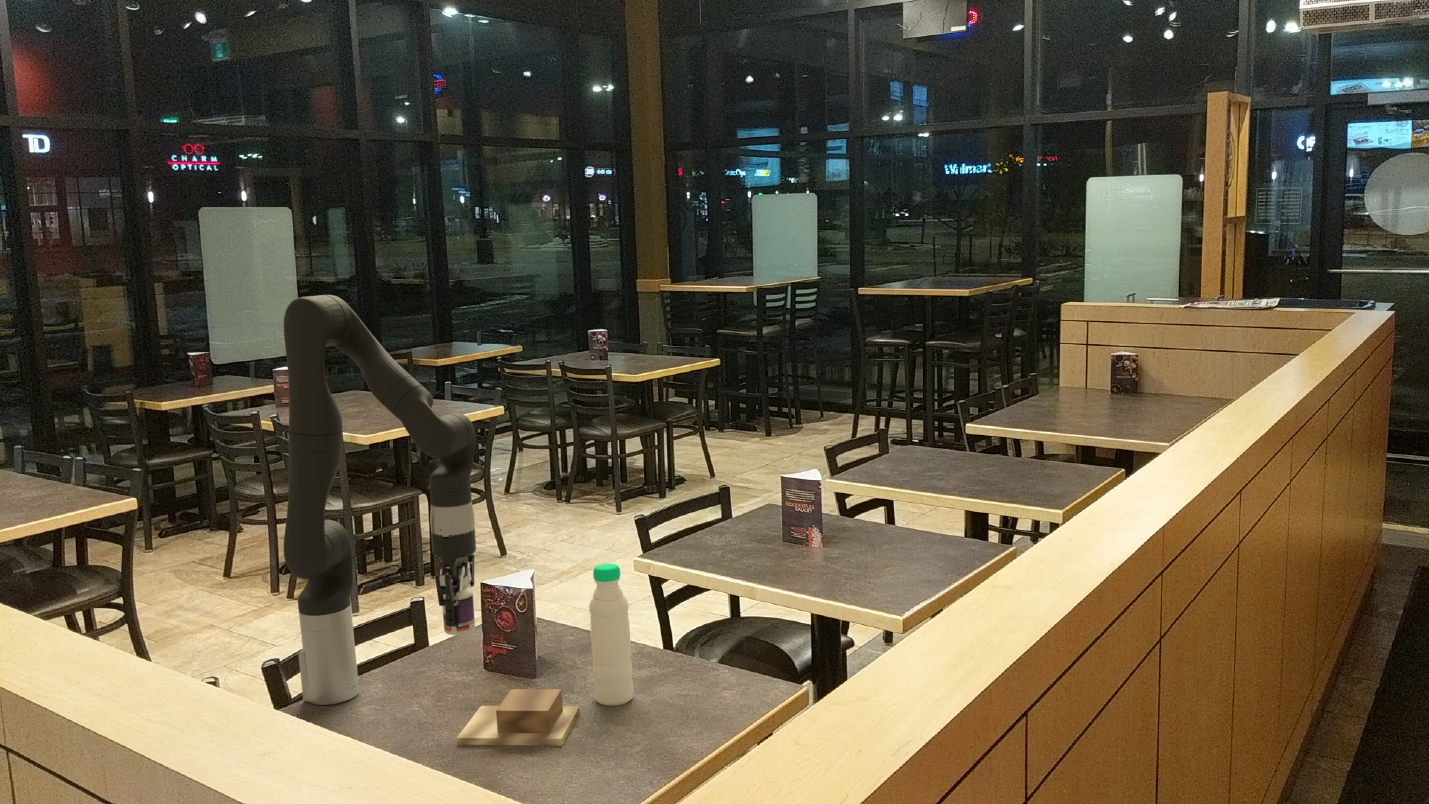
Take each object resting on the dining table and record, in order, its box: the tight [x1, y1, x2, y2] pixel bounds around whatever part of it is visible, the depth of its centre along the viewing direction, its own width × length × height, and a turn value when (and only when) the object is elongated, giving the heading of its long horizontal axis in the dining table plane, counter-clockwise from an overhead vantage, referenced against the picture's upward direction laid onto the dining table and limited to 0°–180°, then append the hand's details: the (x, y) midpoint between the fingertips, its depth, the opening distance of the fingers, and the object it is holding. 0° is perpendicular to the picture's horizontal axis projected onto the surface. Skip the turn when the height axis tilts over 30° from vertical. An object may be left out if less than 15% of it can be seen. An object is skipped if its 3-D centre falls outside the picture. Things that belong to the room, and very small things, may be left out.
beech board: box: [456, 705, 581, 747], centre depth 199 cm, size 18×13×1 cm
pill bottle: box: [442, 576, 476, 636], centre depth 205 cm, size 5×5×10 cm
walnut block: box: [496, 688, 563, 733], centre depth 198 cm, size 9×9×4 cm
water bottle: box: [588, 563, 635, 707], centre depth 207 cm, size 7×7×25 cm
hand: (458, 619), depth 205 cm, fingers closed on pill bottle, 5 cm apart
